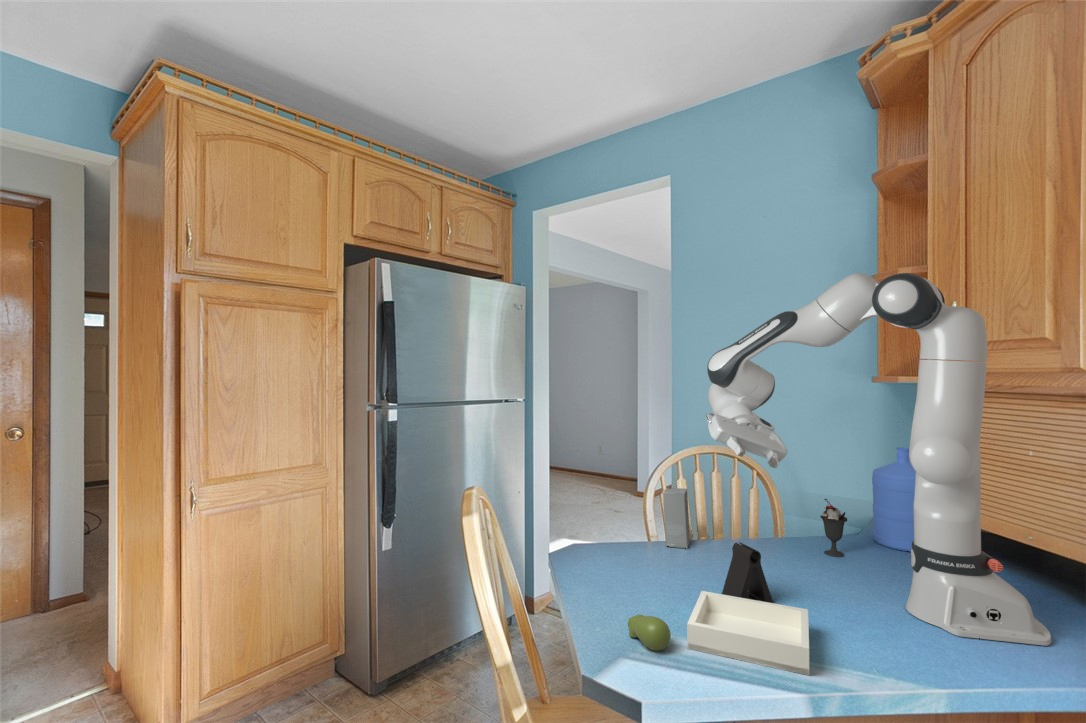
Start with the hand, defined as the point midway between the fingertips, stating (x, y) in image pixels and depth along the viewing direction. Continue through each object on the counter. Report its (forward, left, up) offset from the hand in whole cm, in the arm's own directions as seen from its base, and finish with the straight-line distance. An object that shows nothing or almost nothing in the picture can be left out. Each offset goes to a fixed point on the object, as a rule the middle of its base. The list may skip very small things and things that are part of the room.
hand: (758, 459), depth 123 cm
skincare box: (+24, -23, -30) cm, 45 cm away
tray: (0, +27, -30) cm, 40 cm away
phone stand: (+2, +9, -30) cm, 31 cm away
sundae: (-17, -33, -30) cm, 48 cm away
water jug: (-36, -51, -30) cm, 70 cm away
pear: (+17, +35, -30) cm, 50 cm away
